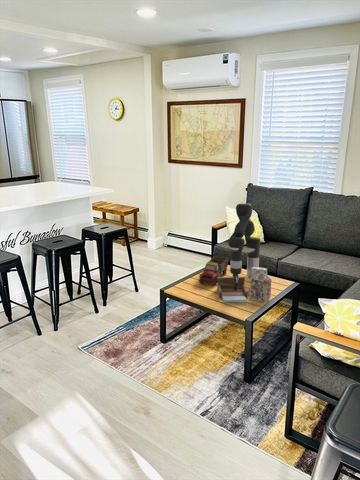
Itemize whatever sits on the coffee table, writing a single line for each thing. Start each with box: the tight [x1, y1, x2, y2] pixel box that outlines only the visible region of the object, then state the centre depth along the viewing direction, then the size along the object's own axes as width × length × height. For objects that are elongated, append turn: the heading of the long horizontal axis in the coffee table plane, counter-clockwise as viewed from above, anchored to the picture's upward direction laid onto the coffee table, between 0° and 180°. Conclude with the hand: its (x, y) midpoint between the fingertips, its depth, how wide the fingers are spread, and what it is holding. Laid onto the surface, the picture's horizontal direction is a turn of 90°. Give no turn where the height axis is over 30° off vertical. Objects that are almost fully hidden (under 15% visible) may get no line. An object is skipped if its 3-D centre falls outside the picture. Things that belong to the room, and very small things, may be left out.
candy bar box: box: [250, 266, 268, 281], centre depth 279 cm, size 11×5×16 cm, turn 62°
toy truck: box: [198, 256, 229, 286], centre depth 300 cm, size 14×35×15 cm, turn 153°
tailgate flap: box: [221, 296, 248, 303], centre depth 259 cm, size 1×16×10 cm
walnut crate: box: [216, 276, 249, 300], centre depth 271 cm, size 16×20×10 cm
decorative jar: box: [249, 274, 272, 303], centre depth 262 cm, size 12×12×18 cm
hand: (235, 289), depth 255 cm, fingers closed
